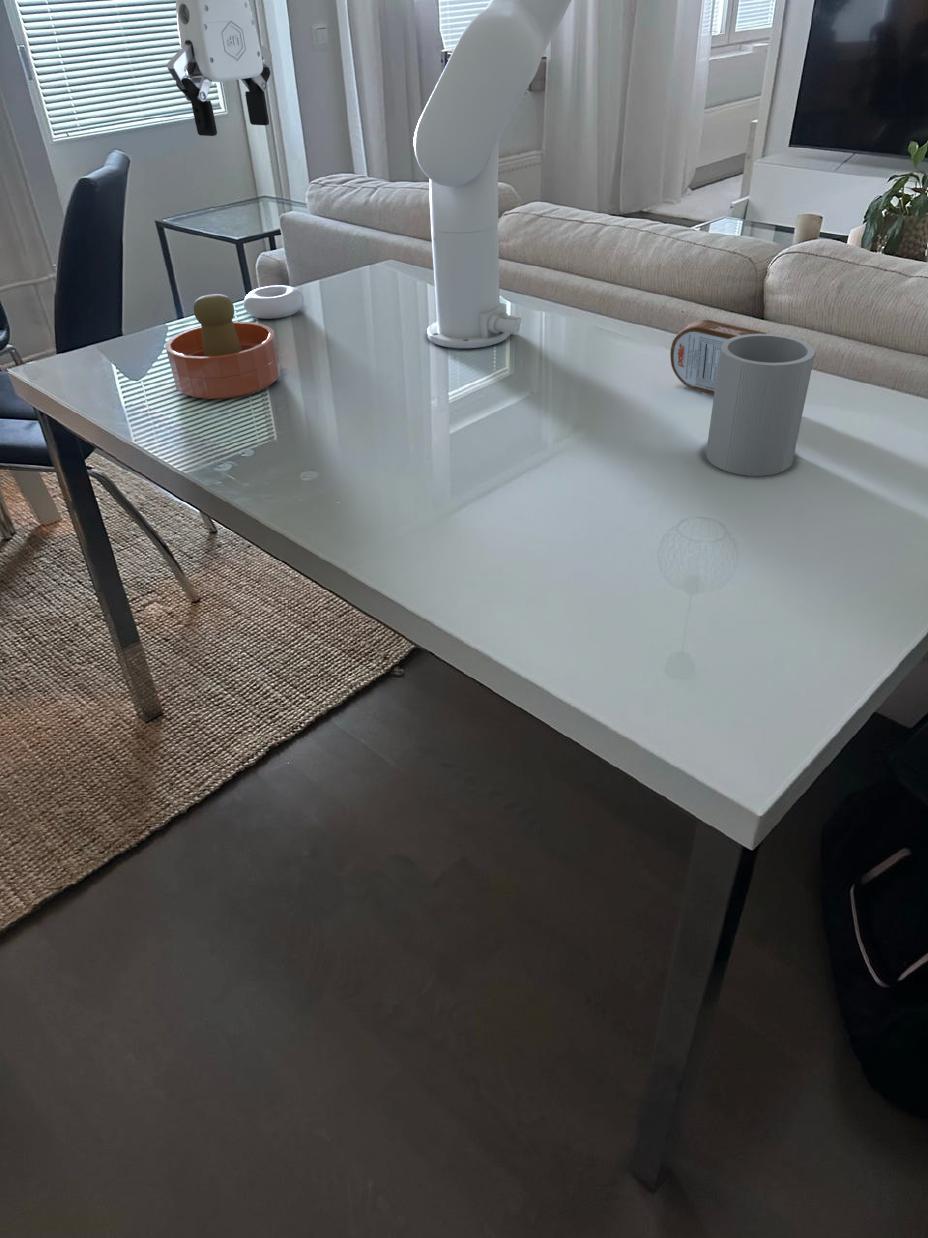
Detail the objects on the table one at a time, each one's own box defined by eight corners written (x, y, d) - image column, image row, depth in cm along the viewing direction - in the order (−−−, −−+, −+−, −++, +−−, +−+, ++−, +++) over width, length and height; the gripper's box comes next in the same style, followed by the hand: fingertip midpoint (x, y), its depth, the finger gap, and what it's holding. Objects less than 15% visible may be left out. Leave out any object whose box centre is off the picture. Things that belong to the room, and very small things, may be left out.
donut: (240, 323, 140) (300, 320, 139) (235, 302, 138) (296, 298, 137) (253, 304, 148) (310, 301, 147) (248, 284, 146) (306, 280, 145)
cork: (258, 371, 120) (242, 290, 113) (236, 387, 115) (218, 304, 109) (221, 367, 122) (204, 288, 115) (198, 383, 117) (178, 301, 110)
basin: (302, 373, 120) (295, 330, 116) (227, 410, 111) (217, 365, 107) (231, 356, 127) (223, 315, 123) (154, 390, 118) (143, 347, 114)
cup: (689, 455, 95) (702, 348, 87) (741, 431, 99) (758, 327, 92) (757, 484, 89) (777, 372, 81) (809, 457, 93) (833, 348, 86)
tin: (783, 404, 104) (796, 335, 99) (770, 412, 102) (783, 343, 97) (676, 376, 113) (683, 312, 108) (663, 384, 111) (669, 319, 106)
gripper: (171, -27, 99) (205, 140, 109) (276, -31, 110) (298, 121, 121) (130, -24, 103) (166, 138, 113) (235, -28, 114) (260, 120, 124)
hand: (234, 129), depth 117 cm, fingers open, 9 cm apart
